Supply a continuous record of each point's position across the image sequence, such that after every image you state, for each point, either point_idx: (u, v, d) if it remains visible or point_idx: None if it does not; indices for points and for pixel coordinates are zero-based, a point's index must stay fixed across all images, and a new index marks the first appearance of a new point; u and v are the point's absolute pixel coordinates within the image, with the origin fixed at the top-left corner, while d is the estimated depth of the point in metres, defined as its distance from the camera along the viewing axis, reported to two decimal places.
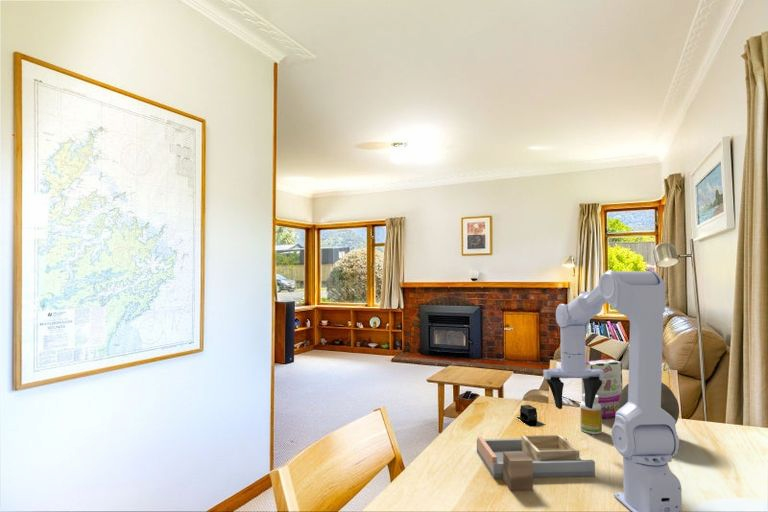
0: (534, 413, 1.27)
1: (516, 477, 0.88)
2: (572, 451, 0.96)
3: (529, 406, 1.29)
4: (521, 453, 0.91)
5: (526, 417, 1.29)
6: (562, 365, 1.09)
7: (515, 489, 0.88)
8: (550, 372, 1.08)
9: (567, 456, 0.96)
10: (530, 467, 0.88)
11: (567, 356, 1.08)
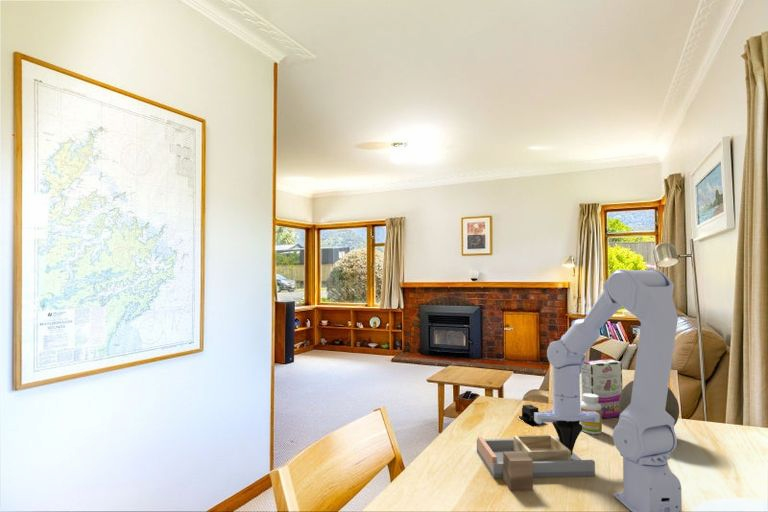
0: None
1: (516, 477, 0.88)
2: (563, 451, 0.96)
3: (531, 406, 1.29)
4: (521, 453, 0.91)
5: (528, 417, 1.30)
6: (554, 408, 1.01)
7: (515, 489, 0.88)
8: (541, 416, 1.00)
9: (558, 456, 0.96)
10: (530, 467, 0.88)
11: (560, 399, 0.99)
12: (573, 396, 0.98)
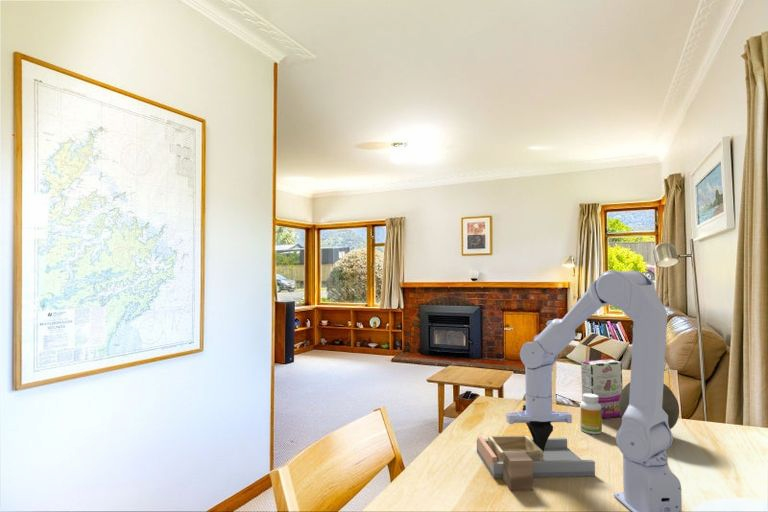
0: None
1: (516, 477, 0.88)
2: (536, 452, 0.96)
3: None
4: (521, 453, 0.91)
5: None
6: (526, 408, 1.00)
7: (515, 489, 0.88)
8: (513, 416, 0.99)
9: (531, 457, 0.95)
10: (530, 467, 0.88)
11: (531, 399, 0.99)
12: (548, 396, 0.98)
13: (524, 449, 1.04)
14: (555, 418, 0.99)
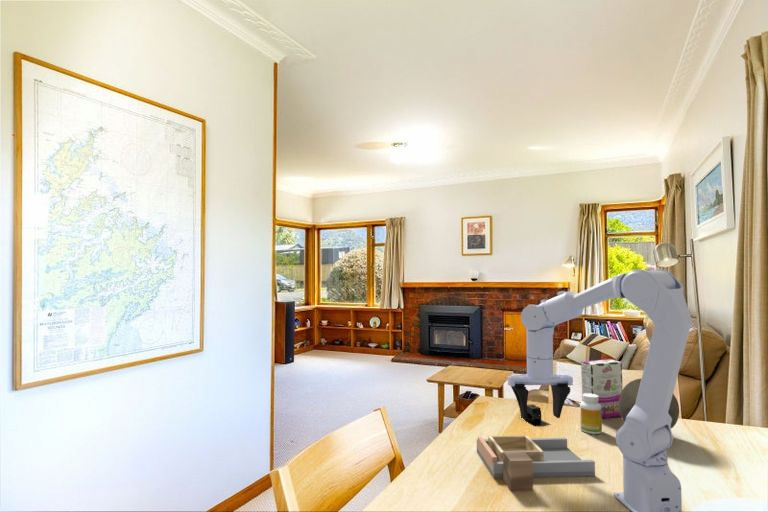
0: (538, 413, 1.27)
1: (516, 477, 0.88)
2: (536, 452, 0.96)
3: (533, 406, 1.30)
4: (521, 453, 0.91)
5: (530, 417, 1.30)
6: (528, 371, 1.01)
7: (515, 489, 0.88)
8: (514, 378, 0.99)
9: (531, 457, 0.95)
10: (530, 467, 0.88)
11: (533, 361, 0.99)
12: (548, 358, 0.98)
13: (524, 449, 1.04)
14: (556, 380, 0.99)
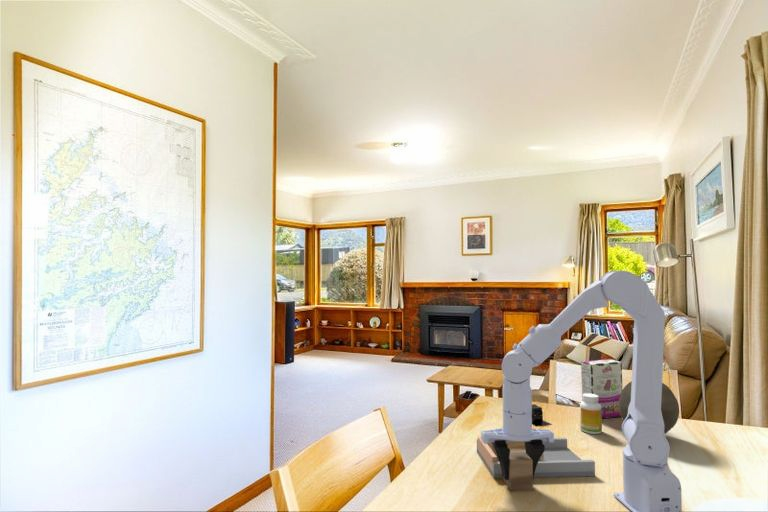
0: (540, 412, 1.27)
1: (516, 477, 0.88)
2: None
3: (535, 405, 1.30)
4: (521, 453, 0.91)
5: (532, 416, 1.30)
6: (504, 426, 0.90)
7: (515, 489, 0.88)
8: (488, 435, 0.89)
9: None
10: (530, 467, 0.88)
11: (509, 416, 0.88)
12: (531, 411, 0.89)
13: (524, 449, 1.04)
14: (535, 437, 0.88)
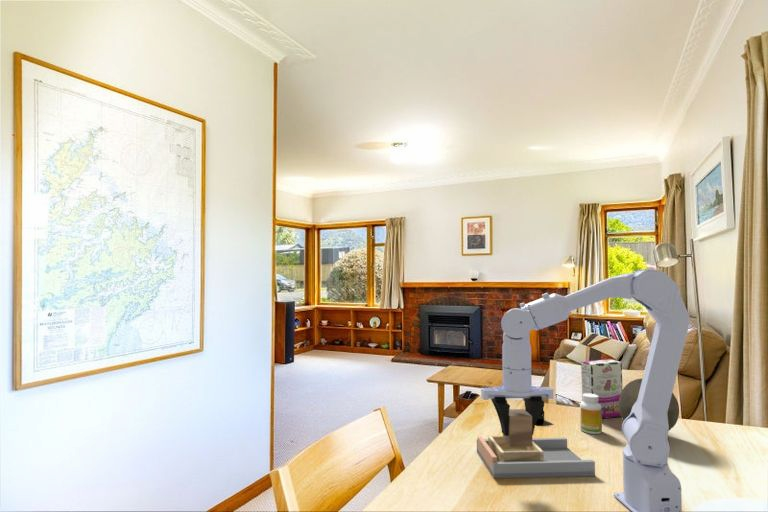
0: (541, 412, 1.27)
1: (515, 433, 0.88)
2: (536, 452, 0.96)
3: None
4: (520, 410, 0.91)
5: None
6: (503, 382, 0.90)
7: (515, 444, 0.88)
8: (488, 391, 0.89)
9: (531, 457, 0.95)
10: (530, 423, 0.88)
11: (508, 372, 0.89)
12: (530, 367, 0.89)
13: (524, 449, 1.04)
14: (535, 393, 0.88)
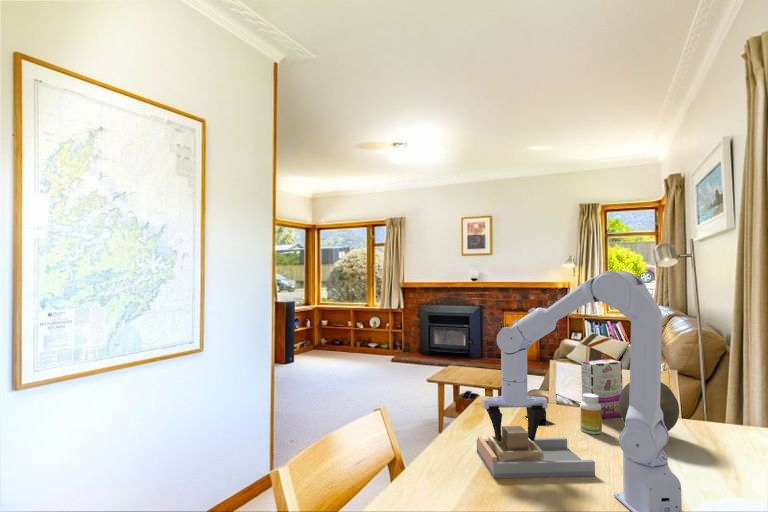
0: None
1: (513, 448, 0.98)
2: (536, 452, 0.96)
3: None
4: (518, 427, 1.01)
5: None
6: (502, 393, 1.00)
7: None
8: (488, 401, 0.99)
9: (531, 457, 0.95)
10: (526, 439, 0.98)
11: (507, 384, 0.99)
12: (524, 380, 0.98)
13: None
14: (530, 403, 0.98)
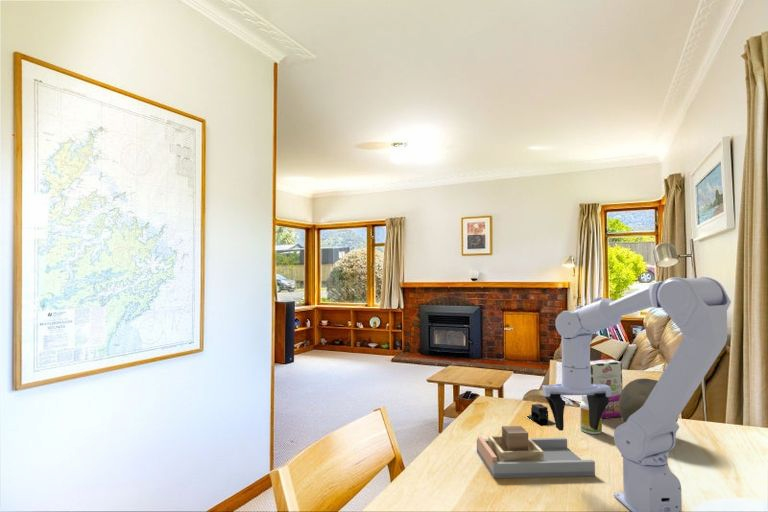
0: (545, 412, 1.28)
1: (513, 448, 0.98)
2: (536, 452, 0.96)
3: (540, 405, 1.30)
4: (518, 427, 1.01)
5: (537, 416, 1.30)
6: (563, 380, 0.96)
7: None
8: (550, 388, 0.95)
9: (531, 457, 0.95)
10: (526, 439, 0.98)
11: (569, 370, 0.94)
12: (584, 367, 0.94)
13: None
14: (594, 390, 0.94)
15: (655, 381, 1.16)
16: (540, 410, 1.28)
